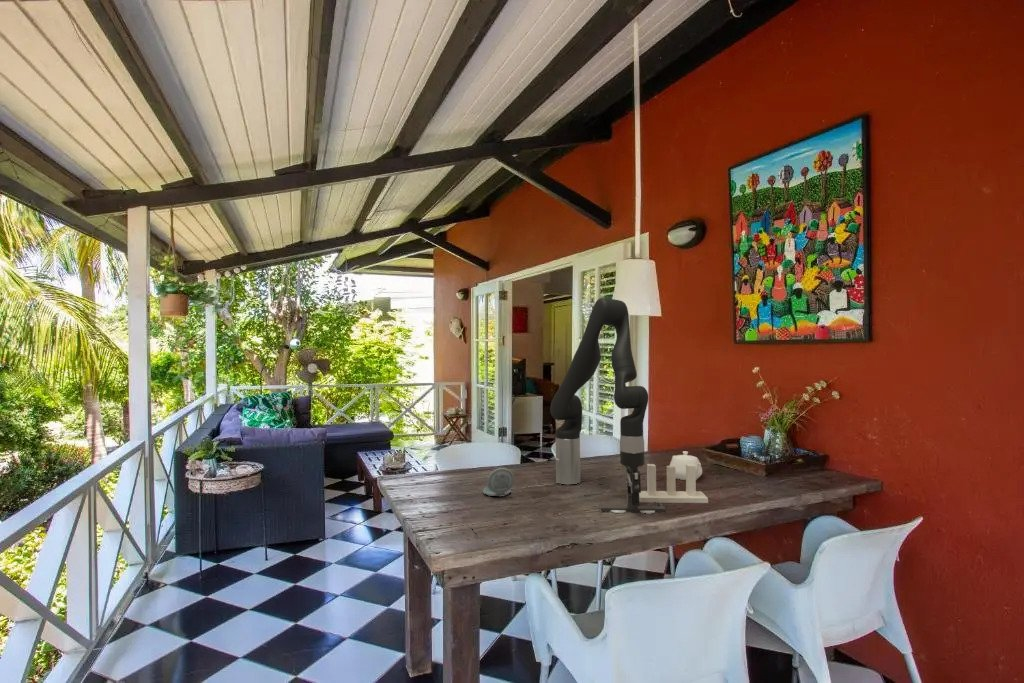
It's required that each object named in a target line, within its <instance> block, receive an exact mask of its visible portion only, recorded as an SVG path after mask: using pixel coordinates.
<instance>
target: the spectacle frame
mask: <svg viewBox="0 0 1024 683" xmlns="http://www.w3.org/2000/svg"><path fill="white" fill-rule="evenodd" d="M598 507H600V508H599V511H600V510H601V511H611V512H610V513H612V512H614V513H613V514H616V513H622V514H625V513H624V512H626V513H640V512H641V513H640V514H644V513H646V514H645V515H651V514H652V513H653V514H655V512H665V513H666V507H665V506H664V505H663V504H662V503H661V502H658V503H657V505H655V506H654V505H653V506H652V505H651V506H650V505H648V506H647V505H645V506H644V505H632V493H626V505H603V504H602V501H598ZM601 511H600V512H601Z"/></svg>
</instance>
